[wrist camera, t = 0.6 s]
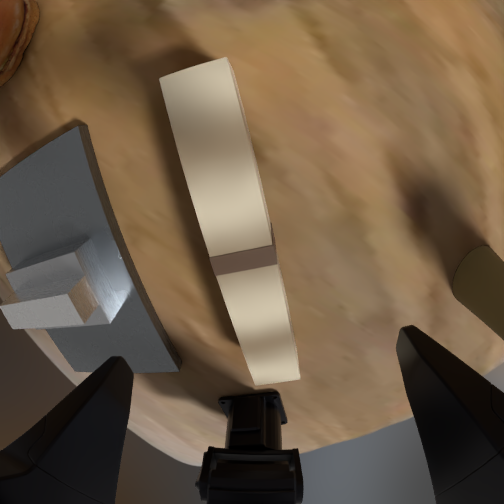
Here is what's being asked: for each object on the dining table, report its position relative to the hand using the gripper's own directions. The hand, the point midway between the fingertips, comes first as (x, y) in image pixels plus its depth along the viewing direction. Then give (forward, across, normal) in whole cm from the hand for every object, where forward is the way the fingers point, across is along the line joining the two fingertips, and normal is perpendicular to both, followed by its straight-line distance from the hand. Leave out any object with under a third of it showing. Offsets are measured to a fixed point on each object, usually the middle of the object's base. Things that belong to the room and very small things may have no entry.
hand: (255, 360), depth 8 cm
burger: (+14, +19, -21) cm, 32 cm away
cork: (+12, -19, +8) cm, 24 cm away
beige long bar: (+12, +1, +2) cm, 12 cm away
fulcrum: (+12, +17, +2) cm, 21 cm away
